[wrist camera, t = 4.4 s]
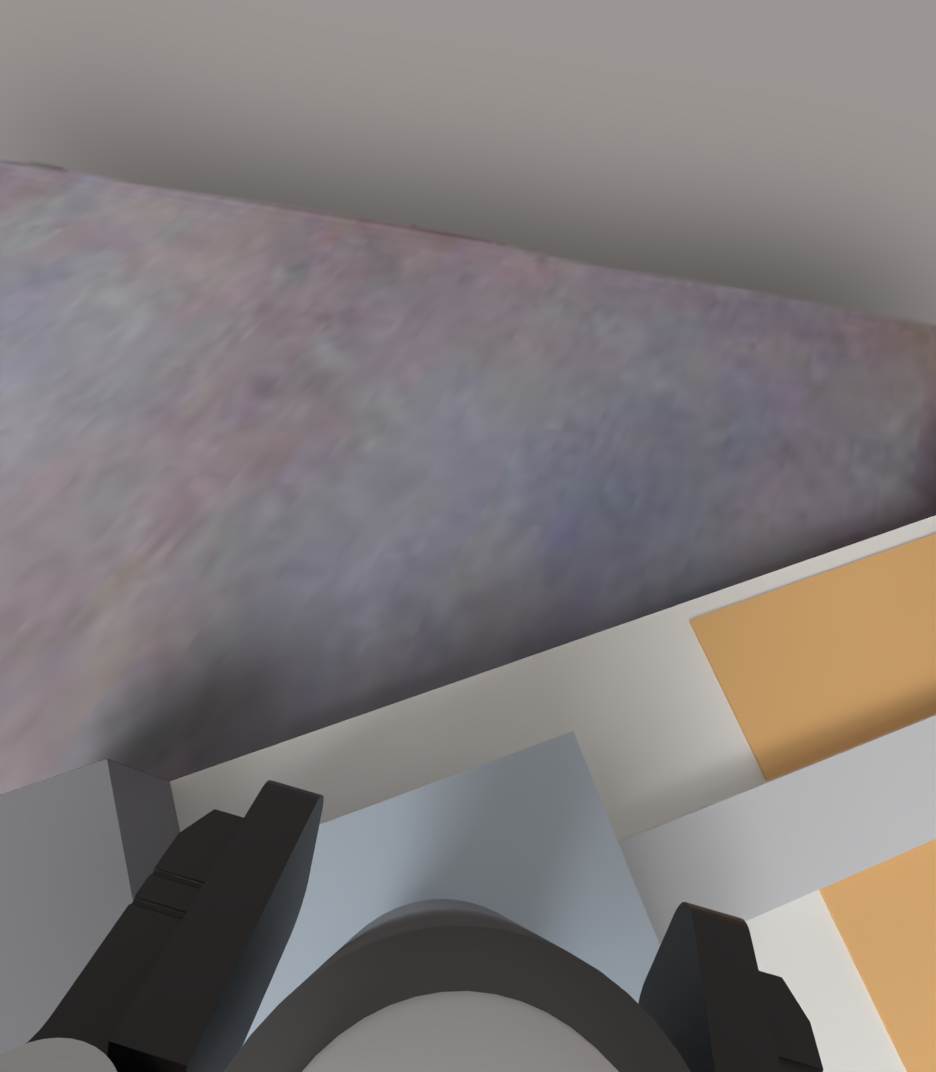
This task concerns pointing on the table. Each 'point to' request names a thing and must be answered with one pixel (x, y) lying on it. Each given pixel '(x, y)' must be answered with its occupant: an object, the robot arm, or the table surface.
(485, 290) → the table surface
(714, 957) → the robot arm
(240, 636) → the table surface
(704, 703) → the rail base
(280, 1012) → the carriage
